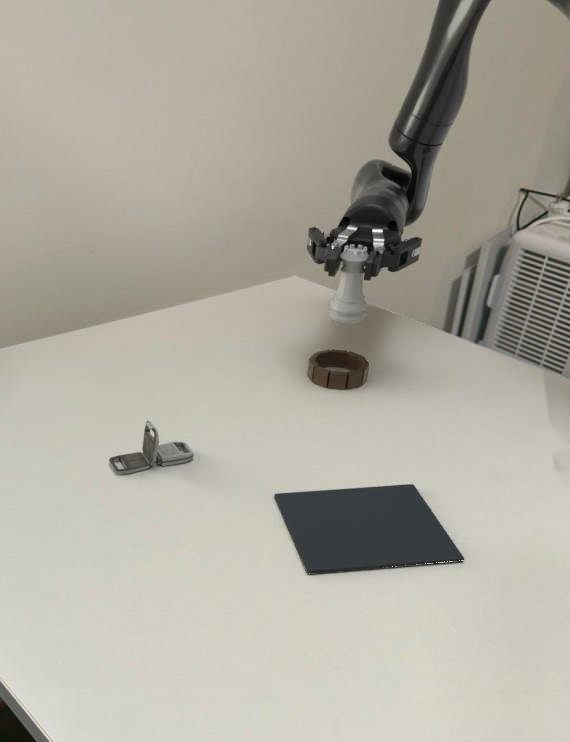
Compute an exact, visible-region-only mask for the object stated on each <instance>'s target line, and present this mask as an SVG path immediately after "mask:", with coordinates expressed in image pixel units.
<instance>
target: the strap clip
mask: <svg viewBox="0 0 570 742" xmlns="http://www.w3.org/2000/svg"><path fill="white" fill-rule="evenodd" d="M151 431H152V432H153V434H154V435H153V434H151ZM143 432H144V433H143V439H142V440H143V441H142V448H141V449H142V452H141V451H138V452H132V453H124V454H117V455H115V456H112V457H109V459H108V461H109V464H110V465H111V467H112V468H113V470H114V472H115V473H116V474H133V473H136V472H142V471H145V470H148V469H150V467H152V465H154V463H157V464H158V465H161V466H162V467H166V466H172V465H177V464H178V465H179V464H184V463H186V462H189V461H191V460H193V458H194V456H195V455H194V451H193V450H192V448H190V446H189V445H188V444H187V442H185V441H170V442H165V443H160V438H159V437H160V436H159V431H158V429H157V427H156V426H155V425H154V424H153V423H152V421H151V420H147V421H145V425H144V431H143ZM180 450H183V451H184V452H181V451H180ZM115 462H122V464H123V466H124V467H125V468H118V466H117V465H116V463H115Z"/></svg>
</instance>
